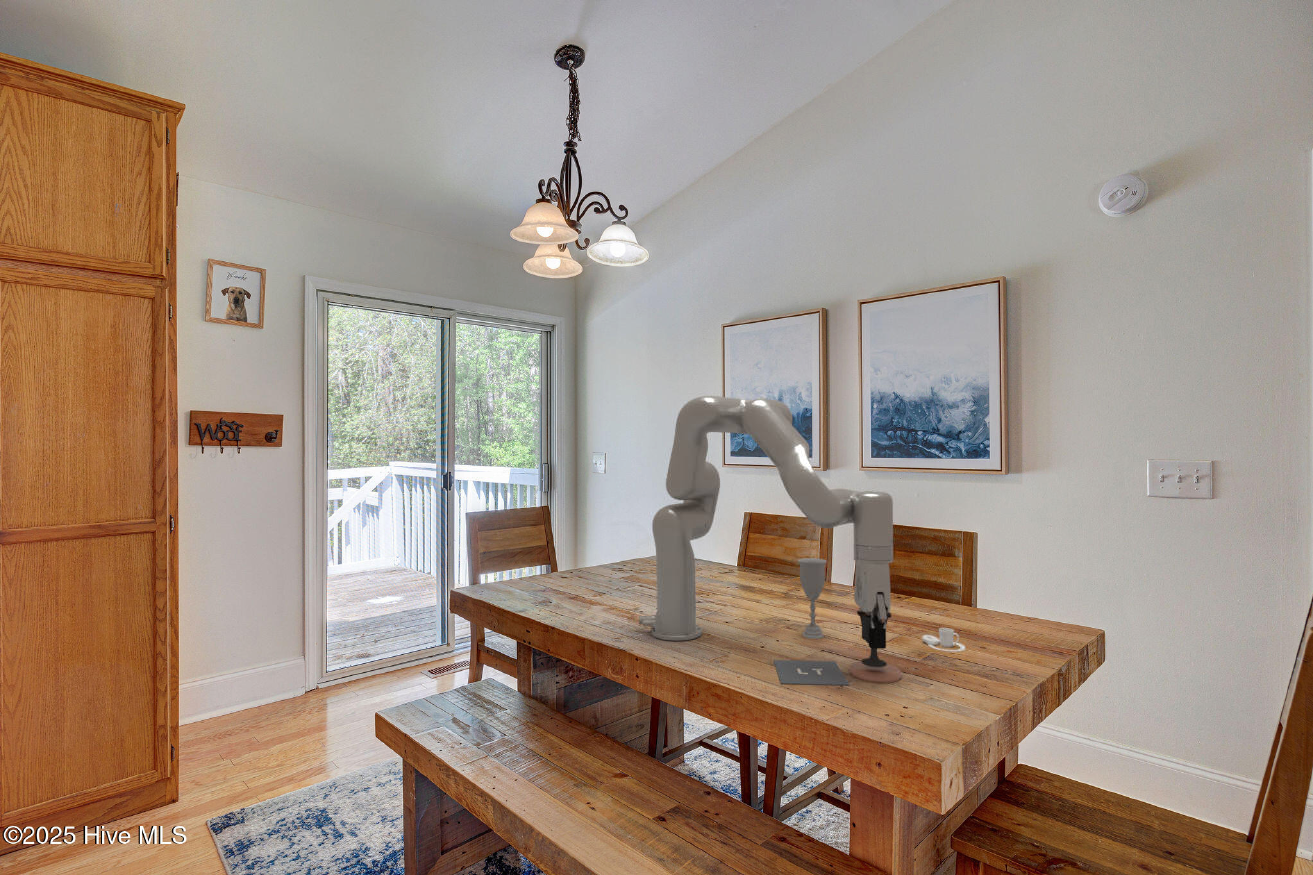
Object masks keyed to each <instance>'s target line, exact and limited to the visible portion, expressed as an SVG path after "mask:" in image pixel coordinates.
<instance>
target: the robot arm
mask: <svg viewBox="0 0 1313 875" xmlns="http://www.w3.org/2000/svg"><path fill="white" fill-rule="evenodd" d="M676 418H677V419H676V420H675V421H676V423H675V430H674V436H673V437H674V438H673V444H672V448H671V454H670V459H669V464H668V467H667V468H668V469H667V473H666V478H665V488H666V492H667V494H668V495H669V496H670V497H671V498H672V499H674V500H677V501H682V502H680V503H679V502H678V503H674V504H667V505H665V506H663V507H661V508H660V509H659V510H658V511H656V513H655V514H654V517H653V519H652V523H651V524H652V536H653V539H654V546H655V559H656V563H655V564H656V612H655V614H651V615H650V616H649V615H638V616H639V617H638V623H639V625H642V626H645V627H648V626H651V628H650V634H651V636H652V637H654V638H656V639H659V640H663V641H674V642H675V641H676V642H678V641H690V640H693V639H696V638H699V637H701V635H703V628H702V627H701V626H700V625H699V624H697V619H696V618H697V617H696V616H697V615H696V613H697V610H696V608H697V607H696V606H697V604H696V603H697V602H696V596H697V595H696V591H697V590H696V557H695V554H694V549H693V547H692V543H691V541H694V540H699V539H701V538H703V537H704V536H706V535H707V534H708V533H709V532H710V529H711V528H712V527H713V526H712V525H713V522H714V518H715V513H716V509H717V504H718V499H719V494H720V488H721V478H720V474H719V471H718V469H717V468H716V467H715V465H714V464H712V463H711V462H709V461H707V455H708V450H709V441H708V436H707V435H708V434H709V433H722V434H723V433H725V434H726V433H728V434H729V433H730V434H744V435H749V436H750V437H751V438H752V440H754V442H755V443H756V444H757V445H758V446H759V448H760V449H761V451H763V452H764V454H765V455H766V456H767V457H768V458H769V460H770V461H771V462H772V464H773V465H774V466H775V467H776V469H777V471H778V474H779V477H780V480H781V482H782V484H783V487H784V489H785V491H786V493H787V494H788V496H789V497H790V499H791V500H792V501H793V503H794V504H795V505H796V507H797V508H798V509H799V510H800V512H801V513H803V515H804V516H805V517H806V519H808V520H809V521H810V523H812V524H814V525H815V526H817V527H819V528H822V529H832V528H835V527H838V526H844V525H847V524H853V561H855V563H856V564H855V575H854V602H855V604H856V605H857V606H858V607H859V609H860V608H861V609H862V610H863V611H864V612H865V613H870V627H869V644H868V647H869V649H870V650H871V649H877V650H878V649H879V650H880V649H881V650H884V649H886V647H887V625H886V619H887V615H886V614H887V613H889V612H890V611H891V578H890V577H891V576H890V575H891V574H890V564H892V563H893V562H894V519H893V518H894V517H893V516H894V513H893V512H894V505H893V504H894V503H893V497H892V495H891V493H888V492H886V491H885V492H884V491H873V490H872V491H857V490H852V489H846V488H833V489H829V487H828V486H827V485H826V484H825V483H824V482H823V481H822V479H821V478H820V477H819V475H818V474H817V473H816V472H815V470H814V468H813V466H812V465H811V461H810V445H809V443H808V442H807V440H806V439H805V438H804V437H803V436H802V435H801V434H800V433H799V431H798V430H797V429H796V428H795V427H794V426H793V414H792V411H791V409H790V408H789V407H788V406H787V404H786V403H784V402H782V401H780V400H778V399H769V398H755V399H747V398H746V399H744V398H733V397H725V396H718V395H704V396H699V397H695V398H692V399H691V400H689V401H687V402H686V403H685V404H683V406H682V407H681V408H680V410H679V413H678V414H677V417H676ZM885 607H886V608H887V609H886V608H885ZM873 609H877V610H878V612H873ZM874 615H878V617H875V619H874ZM861 639H862V640H863V641H865V639H864V637H863V632H862V631H861Z"/></svg>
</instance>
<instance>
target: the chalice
mask: <svg viewBox="0 0 1313 875" xmlns="http://www.w3.org/2000/svg"><path fill="white" fill-rule="evenodd" d="M797 561H798V564H799V576H800V577H799V581H800V584H801V587H802V590H803V593H804V594H805V596H806V598H807V599H808V600H809V601H810V606H809V609H810V614H809V615H808V616H809V617H810V623H809V624H807V625H806V626H805V627H804V630H803V633H802V637H804V638H806V639H811V640H812V639H813V640H816V639H823V638H824V637H825V636H824V634H823V631H822V628H821V627H820V625H818V624H817V623H816V617H817V614H816V612H815V611H816V609H817V607H816V603H815V602H816V600H818V599H819V598H820V596H821V593H822V591H823V589H824V586H825V583H826V563H828V562H827V560H825V559H822V558H816V557H815V558H813V557H811V558H810V557H806V558H805V557H804V558H799V559H798V560H797Z"/></svg>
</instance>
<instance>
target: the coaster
mask: <svg viewBox="0 0 1313 875" xmlns="http://www.w3.org/2000/svg"><path fill="white" fill-rule="evenodd" d="M848 673H849V674H850V675H851V676H852V677H854V678H856V679H857V680H860V681H864V682H868V683H876V684H889V683H890V684H892V683H895V682H899V681H900V680H901V679H902V677H903V676H902V675H903V674H902V670H901V669H899V667H897V666H895V665H892V664H889V663H887V665H886V666H884V667H871V666H867V665H864V664H863V663H862V662H861V661H856V662H853V663H851V664H850V665H849V666H848Z"/></svg>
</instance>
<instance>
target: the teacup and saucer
mask: <svg viewBox="0 0 1313 875" xmlns="http://www.w3.org/2000/svg"><path fill="white" fill-rule="evenodd" d="M954 636H956V637H957V639H956V641H954V639H955V637H954ZM938 637H939V638H938ZM938 637H936V636H934V635H931V634H925V635H924V634H923V636H922V637H921V638H922V641H923V642H924V643H925V644H927V646H928V647H930V648H932V649H934V650H937V651H943V652H951V653H954V652H957V653H958V652H962V651H965V650H966V646H965V645H964V644H962V643H959V642H958V641H959V639H960V635H959V634H958V633H957V632H955V630H954V629H952V628H948V627H939V628H938ZM939 644H940V646H941V647H943V648H952V647H953V646H954V645H957V646H959V649H943V648H939V647H936V646H937V645H939Z"/></svg>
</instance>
